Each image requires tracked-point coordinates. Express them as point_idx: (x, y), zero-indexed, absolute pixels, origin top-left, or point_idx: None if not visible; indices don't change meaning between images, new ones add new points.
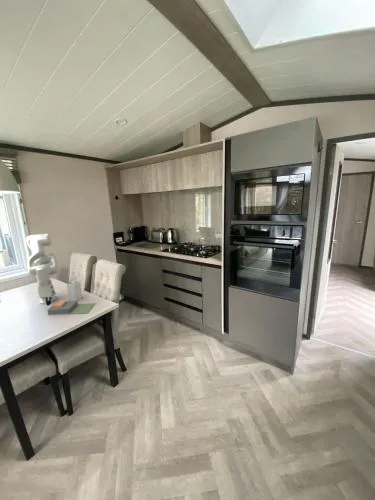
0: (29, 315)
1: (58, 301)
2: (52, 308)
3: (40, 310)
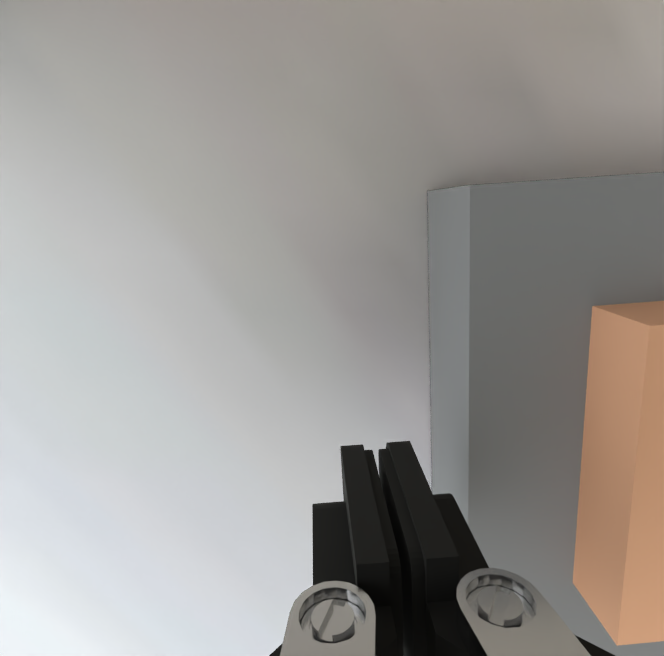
0: (37, 596)
1: (661, 387)
2: (557, 609)
3: (105, 405)
